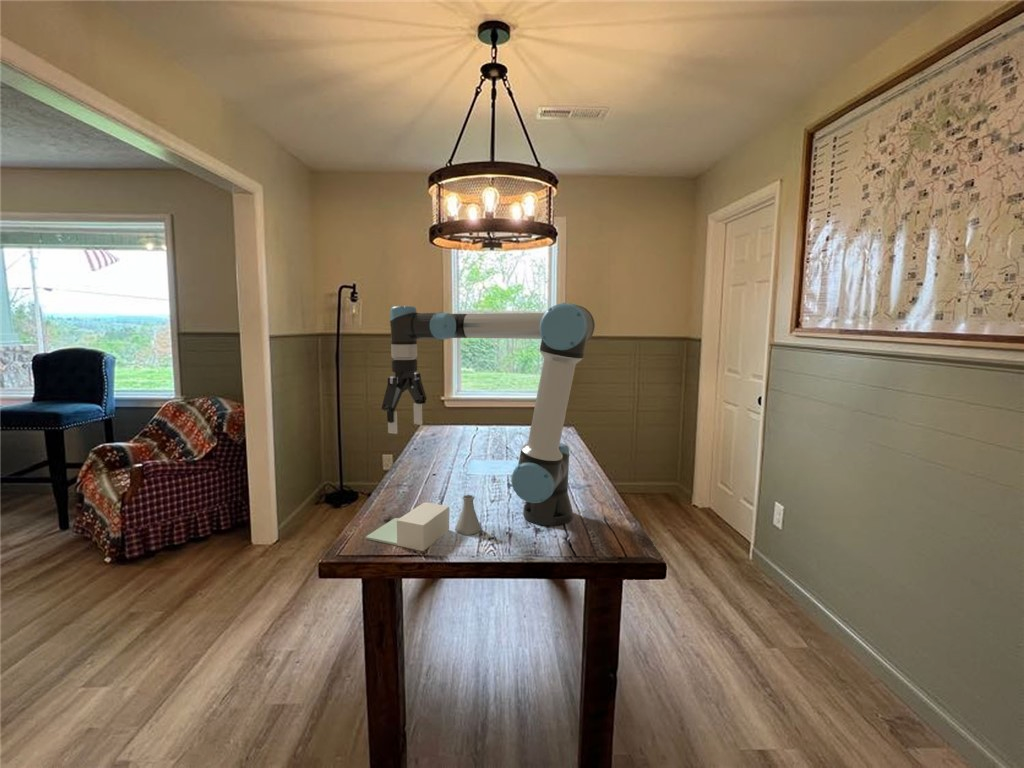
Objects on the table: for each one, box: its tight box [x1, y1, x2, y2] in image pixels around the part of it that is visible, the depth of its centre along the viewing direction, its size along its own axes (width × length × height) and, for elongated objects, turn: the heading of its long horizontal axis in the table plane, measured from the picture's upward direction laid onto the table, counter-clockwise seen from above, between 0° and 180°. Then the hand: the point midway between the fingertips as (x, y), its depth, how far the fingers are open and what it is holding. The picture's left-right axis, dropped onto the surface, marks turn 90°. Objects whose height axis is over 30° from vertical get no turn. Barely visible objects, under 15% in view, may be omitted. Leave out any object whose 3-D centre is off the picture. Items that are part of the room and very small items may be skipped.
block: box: [396, 501, 450, 552], centre depth 132 cm, size 8×14×7 cm, turn 159°
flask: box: [454, 494, 482, 536], centre depth 137 cm, size 7×7×10 cm
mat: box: [365, 517, 400, 546], centre depth 135 cm, size 10×14×1 cm
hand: (406, 428), depth 146 cm, fingers open, 13 cm apart
